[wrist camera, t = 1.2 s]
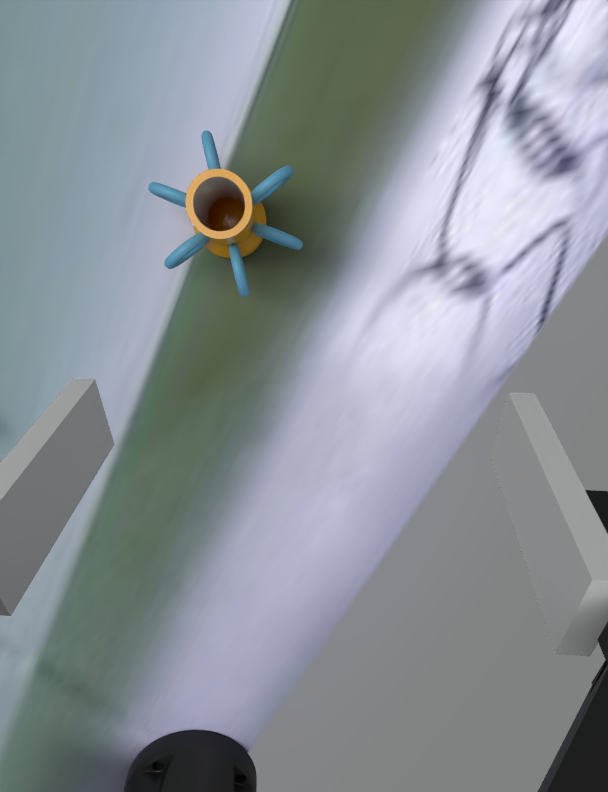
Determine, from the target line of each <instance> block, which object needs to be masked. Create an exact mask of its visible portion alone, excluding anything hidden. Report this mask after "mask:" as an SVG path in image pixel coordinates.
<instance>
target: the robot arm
mask: <svg viewBox="0 0 608 792" xmlns="http://www.w3.org/2000/svg"><path fill="white" fill-rule="evenodd" d="M113 446H114V442H113V438H112V435H111V431H110V428H109V425H108V421H107V418H106V414H105V411H104V408H103V404H102V401H101V398H100V394H99V391H98V387H97V384H96V381H95V379H75V378H72V380H71V381H70V382H69V383H68V384H67V385H66V387H65V388H64V389H63V390H62V391H61V392H60V394H59V395H58V396H57V397H56V398H55V400H54V401H53V402H52V403H51V404H50V405H49V407H48V408H47V409H46V410H45V411H44V412H43V414H42V415H41V416H40V417H39V418H38V420H37V421H36V422H35V423H34V424H33V425H32V427H31V428H30V429H29V430H28V431H27V432H26V434H25V435H24V436H23V437H22V438H21V440H20V441H19V442H18V443H17V444H16V445H15V447H14V448H13V449H12V450H11V451H10V452H9V454H8V455H7V456H6V457H5V458H4V460H3V461H2V462H1V463H0V615H6V616H11V615H12V613H13V611H14V610H15V608H16V606H17V605H18V603H19V601H20V600H21V598H22V596H23V595H24V593H25V591H26V590H27V588H28V586H29V585H30V583H31V581H32V580H33V578H34V576H35V575H36V573H37V571H38V570H39V568H40V567H41V565H42V563H43V562H44V560H45V558H46V557H47V555H48V553H49V552H50V550H51V548H52V547H53V545H54V543H55V542H56V540H57V538H58V537H59V535H60V533H61V532H62V530H63V528H64V527H65V525H66V523H67V522H68V520H69V518H70V517H71V515H72V514H73V512H74V510H75V509H76V507H77V505H78V504H79V502H80V500H81V499H82V497H83V495H84V494H85V492H86V490H87V489H88V487H89V485H90V484H91V482H92V480H93V479H94V477H95V475H96V474H97V472H98V470H99V469H100V467H101V465H102V464H103V462H104V461H105V459H106V457H107V456H108V454H109V452H110V451H111V449H112V447H113ZM491 461H492V464H493V467H494V470H495V473H496V476H497V479H498V482H499V485H500V488H501V491H502V494H503V497H504V500H505V503H506V506H507V509H508V512H509V515H510V518H511V521H512V524H513V527H514V530H515V533H516V536H517V539H518V542H519V546H520V548H521V552H522V555H523V557H524V560H525V564H526V567H527V569H528V572H529V576H530V578H531V582H532V585H533V588H534V591H535V594H536V597H537V600H538V603H539V606H540V608H541V612H542V615H543V618H544V621H545V624H546V627H547V630H548V633H549V636H550V639H551V642H552V645H553V648H554V651H555V653H556V654H566V655H580V656H590V655H591V654H592V652H593V650H594V649H595V647H596V645H597V643H598V642H599V645H600V647H601V649H602V652H603V654H604V657H605V659H606V660H605V662H604V664H603V665H602V667H601V668H600V670H599V672H598V673H597V675H596V677H595V679H594V680H593V682H592V686H591V688H590V691H589V692H588V694H587V696H586V698H585V700H584V702H583V704H582V706H581V708H580V710H579V712H578V714H577V716H576V718H575V720H574V722H573V724H572V726H571V728H570V730H569V731H568V733H567V735H566V737H565V739H564V741H563V743H562V746H561V747H560V749H559V751H558V753H557V755H556V757H555V759H554V761H553V763H552V765H551V767H550V769H549V771H548V773H547V775H546V777H545V778H544V781H543V782H542V784H541V786H540V789H539V790H538V792H608V492H607V491H590V490H585V489H584V488H583V486H582V484H581V482H580V480H579V478H578V476H577V474H576V472H575V470H574V468H573V466H572V465H571V463H570V461H569V459H568V457H567V455H566V453H565V451H564V449H563V447H562V445H561V443H560V442H559V439H558V438H557V436H556V434H555V432H554V430H553V428H552V426H551V424H550V422H549V420H548V419H547V417H546V415H545V413H544V411H543V409H542V407H541V405H540V403H539V401H538V399H537V397H536V395H535V394H534V393H509V394H508V397H507V401H506V405H505V409H504V413H503V416H502V421H501V425H500V428H499V432H498V436H497V440H496V444H495V447H494V451H493V455H492V459H491ZM124 792H256V770H255V766H254V764H253V761H252V759H251V758H250V756H249V755H248V753H247V752H246V751H245V750H244V749H243V748H242V747H241V746H240V745H238V744H237V743H236V742H234V741H232V740H231V739H229V738H227V737H224V736H222V735H219V734H215V733H211V732H205V731H185V732H178V733H174V734H171V735H168V736H165V737H162V738H160V739H158V740H156V741H154V742H153V743H151V744H150V745H148V746H147V747H146V748H144V749H143V750H142V751H141V752H140V753H139V754H138V756H137V757H136V758H135V760H134V761H133V763H132V765H131V767H130V769H129V772H128V776H127V780H126V784H125V788H124Z"/></svg>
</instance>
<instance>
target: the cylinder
mask: <svg viewBox="0 0 608 792" xmlns="http://www.w3.org/2000/svg"><path fill="white" fill-rule="evenodd" d="M202 143H203V148H204V152H205V156H206V160H207V164H208V168H209V170H207V171H204V172H202V173H201V174H199V175H198V176H197V177H196V178H195V179H194V180H193V181H192V182H191V184H190V186H189V188H188V190H187V194H186V193H184V192H181V191H179V190H176V189H174V188H171V187H169V186H166V185H163V184H160V183H156V182H152V183H150V184H149V191H150V192H151V193H152V194H154V195H156V196H158V197H160V198H163V199H165V200H167V201H170V202H172V203H174V204H177V205H180V206H182V207H185V208H186V210H187V214H188V217H189V219H190V221H191V222H192V224H193V226H194V230H195V233H196V235H194V236H193V237H191V238H190V239H189V240H187V241H186V242H184V243H183V244H182V245H180V246H179V247H178V248H177V249H176V250H174V251H173V252H172V253H171V254H170V255H169V256H168V257H167V258H166V260H165V266H166V267H167V268H168V269H172V268H175V267H177V266H178V265H180V264H181V263H183V262H184V261H186V260H187V259H188V258H190V257H191V256H192V255H194V254H195V253H196V252H198V251H199V250H200V249H201V248H202V247H203V246H204V247H205V248H206V249H208V250H209V251H210V252H212V253H213V254H215V255H217V256H220V257H224V258H229V259H231V263H232V267H233V271H234V275H235V279H236V283H237V287H238V290H239V293H240V295H241V296H242V297H247V296H248V295H249V286H248V282H247V277H246V273H245V268H244V264H243V260H242V257H245V256H247V255H249V254H251V253H252V252H254V251H255V250H256V249H257V248H258V247H259V245H260V244H261V242H262V240H263V238H265V239H267V240H269V241H272V242H275V243H277V244H280V245H282V246H285V247H288V248H291V249H295V250H299V249H301V248H302V246H303V243H302V241H301V240H300V239H298V238H296V237H294V236H292V235H290V234H288V233H285V232H283V231H280V230H278V229H275V228H272V227H270V226H267V225H266V213H265V209H264V206H263V204H262V202H261V201H263V200H264V199H266V198H267V197H268V196H270V195H271V194H272V193H274V192H275V191H276V190H277V189H279V188H280V187H281V186H282V185H283V184H284V183H286V182H287V181H288V180H289V179H290V178H291V176H292V175H293V172H294V170H293V168H292V167H291V166H289V165H287V166H284V167H282V168H280V169H279V170H277V171H276V172H274V173H273V174H272V175H270V176H269V177H268V178H266V179H265V180H264V181H263V182H261V183H260V184H259V185H258V186H257V187H256V188H255V189H254V190H253V191H252V190H251V189H250V188H248V187H247V185H246V184H245V183H244V181H243V180H242V179H241V178H240V177H239V176H237V175H236V174H234V173H233V172H230V171H228V170H224V169H221V167H220V163H219V159H218V155H217V151H216V147H215V143H214V140H213V136H212V134H211V133H210V132H209V131H204V132H203V133H202Z"/></svg>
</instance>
